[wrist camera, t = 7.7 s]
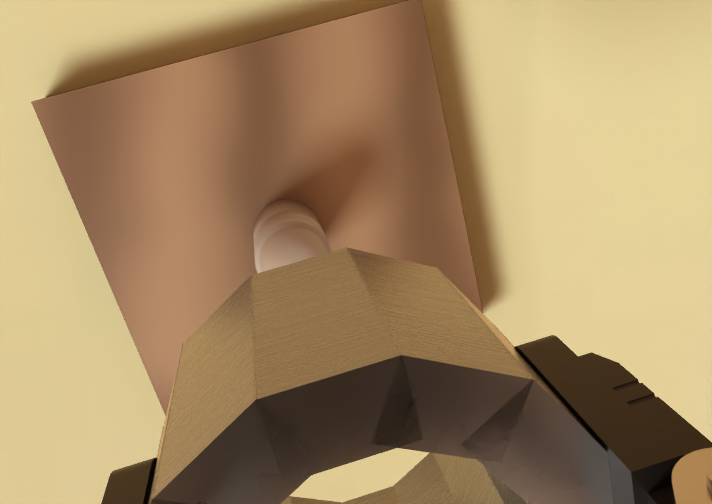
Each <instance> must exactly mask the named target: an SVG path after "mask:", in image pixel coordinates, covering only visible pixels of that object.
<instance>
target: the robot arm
mask: <svg viewBox="0 0 712 504" xmlns="http://www.w3.org/2000/svg"><path fill="white" fill-rule="evenodd" d="M514 348H515V349H516V350H517V352H518V353H519V354H520V355H521V356H522V357H523V358H524V359H525V361H526V362H527V363H528V364H529V365H530V366H531V367H532V368H533V370H534V371H535V372H536V373H537V374H538V375H539V376H540V377H541V378H542V380H543V381H544V382H545V383H546V384H547V385H548V386H549V387H550V389H551V390H552V391H553V392H554V393H555V394H556V395H557V396H558V398H559V399H560V400H561V401H562V402H563V403H564V404H565V405H566V407H567V408H568V409H569V410H570V411H571V412H572V413H573V414H574V416H575V417H576V418H577V419H578V420H579V421H580V422H581V423H582V425H583V426H584V427H585V428H586V429H587V430H588V431H589V432H590V434H591V435H592V436H593V437H594V438H595V439H596V440H597V441H598V443H599V444H600V445H601V446H602V447H603V448H604V449H605V450H606V452H607V455H608V463H609V472H610V480H611V488H612V496H613V504H712V442H711V441H709V440H708V439H707V438H706V437H705V436H703V435H702V434H701V433H700V432H699V431H698V430H696V429H695V428H694V427H693V426H692V425H691V424H689V423H688V422H687V421H686V420H685V419H684V418H682V417H681V416H680V415H679V414H678V413H677V412H675V411H674V410H673V409H672V408H671V407H669V406H668V405H667V404H666V403H665V402H664V401H662V400H661V399H660V398H659V397H655V395H654V393H653V392H652V391H651V390H650V389H648V388H647V387H646V386H645V385H644V384H643V383H639V382H638V379H637V378H635V377H634V376H633V375H632V374H631V373H630V372H628V371H627V370H626V369H625V368H624V367H623V366H621V365H620V364H619V363H617V362H614V361H612V360H609V359H607V358H604V357H601V356H599V355H596V354H594V353H588V354H585V355H582V356H579V357H578V356H577V355H576V354H575V353H574V352H573V351H571V350H570V349H569V348H568V347H567V346H566V345H565V344H564V343H563V342H562V341H561V340H560V339H559V338H557V337H556V336H554V335H551V336H548V337H545V338H542V339H539V340H535V341H532V342H529V343H526V344H522V345H519V346H516V347H514ZM156 462H157V458H153V459H150V460H147V461H143V462H140V463H137V464H134V465H131V466H127V467H124V468H121V469H118V470H114V471H113V472H112V473H111V474H110V477H109V480H108V483H107V487H106V490H105V493H104V497H103V500H102V503H101V504H148V501H149V496H150V491H151V486H152V481H153V476H154V471H155V467H156Z"/></svg>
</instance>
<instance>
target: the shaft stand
mask: <svg viewBox="0 0 712 504" xmlns="http://www.w3.org/2000/svg"><path fill="white" fill-rule="evenodd" d="M31 103H32V105H33V107H34V110H35V112H36V114H37V117H38V119H39V121H40V124H41V126H42V128H43V131H44V133H45V135H46V138H47V140H48V142H49V145H50V147H51V149H52V152H53V154H54V156H55V159H56V161H57V163H58V166H59V168H60V170H61V173H62V175H63V177H64V180H65V182H66V184H67V187H68V189H69V191H70V194H71V196H72V198H73V201H74V203H75V205H76V208H77V210H78V212H79V215H80V217H81V219H82V222H83V224H84V226H85V229H86V231H87V233H88V236H89V238H90V240H91V243H92V245H93V247H94V250H95V252H96V254H97V257H98V259H99V261H100V264H101V266H102V268H103V271H104V273H105V275H106V278H107V280H108V282H109V285H110V287H111V289H112V292H113V294H114V296H115V299H116V301H117V303H118V306H119V308H120V310H121V313H122V315H123V317H124V320H125V322H126V324H127V327H128V329H129V331H130V334H131V336H132V338H133V341H134V343H135V345H136V348H137V350H138V352H139V355H140V357H141V359H142V362H143V364H144V366H145V369H146V371H147V373H148V376H149V378H150V380H151V383H152V385H153V387H154V390H155V392H156V394H157V397H158V399H159V401H160V404H161V406H162V408H163V411H164V413H165V415H166V414H167V410H168V405H169V401H170V396H171V392H172V388H173V383H174V379H175V375H176V370H177V366H178V362H179V357H180V352H181V347H182V343H183V342H184V341H185V340H186V339H187V338H188V337H189V336H190V335H192V334H193V333H194V332H195V331H196V330H197V329H198V328H199V327H200V326H201V325H202V324H203V323H204V322H205V321H206V320H207V319H208V318H209V317H210V316H211V315H212V314H213V313H214V312H215V311H216V310H217V309H218V308H219V307H220V306H221V305H222V304H223V303H224V302H225V301H226V300H227V299H228V298H229V297H230V296H231V295H232V294H233V293H234V292H235V291H236V290H237V289H238V288H239V287H240V286H241V285H242V284H243V283H244V282H245V281H246V280H247V279H248V278H249V277H250V275H254V274H257V273H261V272H264V271H268V270H271V269H274V268H278V267H281V266H285V265H288V264H292V263H295V262H299V261H302V260H305V259H309V258H312V257H316V256H319V255H323V254H326V253H330V252H333V251H337V250H340V249H343V248H346V247H348V248H351V249H356V250H360V251H364V252H369V253H373V254H378V255H382V256H387V257H391V258H395V259H400V260H404V261H409V262H413V263H418V264H422V265H426V266H431V267H435V268H438V269H439V270H440V271H441V272H442V273H443V274H444V275H445V276H446V277H447V278H448V279H449V280H450V281H451V282H452V283H453V284H454V285H455V286H456V287H457V288H458V289H459V290H460V291H461V292H462V293H463V294H464V295H465V296H466V297H467V298H468V299H469V300H470V301H471V302H472V303H473V304H474V305H475V306H476V307H477V308H478V309H479V310H480V311H481V312H482V313H483V311H482V306H481V301H480V296H479V291H478V286H477V281H476V275H475V270H474V265H473V260H472V255H471V250H470V245H469V240H468V235H467V230H466V225H465V220H464V215H463V210H462V205H461V200H460V195H459V189H458V184H457V179H456V174H455V169H454V164H453V159H452V154H451V149H450V144H449V139H448V134H447V129H446V124H445V119H444V114H443V109H442V104H441V98H440V93H439V88H438V83H437V78H436V73H435V68H434V63H433V58H432V53H431V48H430V43H429V38H428V33H427V28H426V23H425V18H424V12H423V7H422V2H421V0H408V1H404V2H400V3H396V4H393V5H389V6H385V7H382V8H378V9H374V10H370V11H367V12H363V13H359V14H355V15H352V16H348V17H344V18H341V19H337V20H333V21H329V22H326V23H322V24H318V25H315V26H311V27H307V28H303V29H300V30H296V31H292V32H289V33H285V34H281V35H277V36H274V37H270V38H266V39H262V40H259V41H255V42H251V43H248V44H244V45H240V46H236V47H233V48H229V49H225V50H222V51H218V52H214V53H210V54H207V55H203V56H199V57H195V58H192V59H188V60H184V61H181V62H177V63H173V64H169V65H166V66H162V67H158V68H155V69H151V70H147V71H143V72H140V73H136V74H132V75H129V76H125V77H121V78H117V79H114V80H110V81H106V82H102V83H99V84H95V85H91V86H88V87H84V88H80V89H76V90H73V91H69V92H65V93H62V94H58V95H54V96H50V97H47V98H43V99H40V100H36V101H33V102H31Z"/></svg>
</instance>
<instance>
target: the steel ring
mask: <svg viewBox="0 0 712 504" xmlns="http://www.w3.org/2000/svg"><path fill="white" fill-rule="evenodd" d="M394 448H403V449H410V450H416V451H423V452H430V453H429V454H428V455H427V456H426V457H425V458H424V459H423V460H421V461H420V462H419V463H418V464H417V465H416V466H415V467H414V468H413V469H412V470H410V471H409V472H408V473H407V474H406V475H405V476H404V477H403V478H402V479H401V480H400V481H398V482H397V483H396V484H395V485H394V486H392V487H389V488H386V489H383V490H380V491H377V492H374V493H371V494H368V495H365V496H362V497H358V498H355V499H352V500H349V501H346V502H343V503H341V502H332V501H324V500H316V499H308V498H300V497H291V496H289V495H290V494H291V493H292V492H294V491H295V490H296V489H297V488H298V487H299V486H300V485H301V484H302V483H303V482H304V481H305V480H306V479H307V478H309V477H310V476H311V475H313V474H316V473H319V472H322V471H325V470H329V469H332V468H335V467H338V466H341V465H344V464H347V463H351V462H354V461H357V460H360V459H363V458H366V457H369V456H372V455H376V454H379V453H382V452H385V451H388V450H391V449H394ZM148 504H613V496H612V488H611V480H610V472H609V463H608V455H607V452H606V450H605V449H604V448H603V447H602V446H601V445H600V444H599V443H598V441H597V440H596V439H595V438H594V437H593V436H592V435H591V434H590V432H589V431H588V430H587V429H586V428H585V427H584V426H583V425H582V423H581V422H580V421H579V420H578V419H577V418H576V417H575V416H574V414H573V413H572V412H571V411H570V410H569V409H568V408H567V407H566V405H565V404H564V403H563V402H562V401H561V400H560V399H559V398H558V396H557V395H556V394H555V393H554V392H553V391H552V390H551V389H550V387H549V386H548V385H547V384H546V383H545V382H544V381H543V380H542V378H541V377H540V376H539V375H538V374H537V373H536V372H535V371H534V370H533V368H532V367H531V366H530V365H529V364H528V363H527V362H526V361H525V359H524V358H523V357H522V356H521V355H520V354H519V353H518V352H517V350H516V349H515V348H514V346H513V345H512V344H511V343H510V342H509V341H508V339H507V338H506V337H505V336H504V335H503V334H502V333H501V332H500V331H499V329H498V328H497V327H496V326H495V325H494V324H493V323H492V322H491V321H490V320H489V319H488V318H487V317H486V316H485V315H484V314H483V313H482V312H481V311H480V310H479V309H478V308H477V307H476V306H475V305H474V304H473V303H472V302H471V301H470V300H469V299H468V298H467V297H466V296H465V295H464V294H463V293H462V292H461V291H460V290H459V289H458V288H457V287H456V286H455V285H454V284H453V283H452V282H451V281H450V280H449V279H448V278H447V277H446V276H445V275H444V274H443V273H442V272H441V271H440V270H439V269H438V268H435V267H431V266H426V265H422V264H418V263H413V262H409V261H404V260H400V259H395V258H391V257H387V256H382V255H378V254H373V253H369V252H364V251H360V250H356V249H351V248H348V247H346V248H343V249H340V250H337V251H333V252H330V253H326V254H323V255H319V256H316V257H312V258H309V259H305V260H302V261H299V262H295V263H292V264H288V265H285V266H281V267H278V268H274V269H271V270H268V271H264V272H261V273H257V274H254V275H250V277H249V278H248V279H247V280H246V281H245V282H244V283H243V284H242V285H241V286H240V287H239V288H238V289H237V290H236V291H235V292H234V293H233V294H232V295H231V296H230V297H229V298H228V299H227V300H226V301H225V302H224V303H223V304H222V305H221V306H220V307H219V308H218V309H217V310H216V311H215V312H214V313H213V314H212V315H211V316H210V317H209V318H208V319H207V320H206V321H205V322H204V323H203V324H202V325H201V326H200V327H199V328H198V329H197V330H196V331H195V332H194V333H193V334H192V335H190V336H189V337H188V338H187V339H186V340H185V341H184V342H183V343H182V347H181V352H180V357H179V362H178V366H177V370H176V375H175V379H174V383H173V388H172V392H171V396H170V401H169V405H168V410H167V414H166V418H165V423H164V427H163V430H162V435H161V440H160V445H159V450H158V455H157V462H156V467H155V471H154V476H153V481H152V486H151V491H150V496H149V501H148Z"/></svg>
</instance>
